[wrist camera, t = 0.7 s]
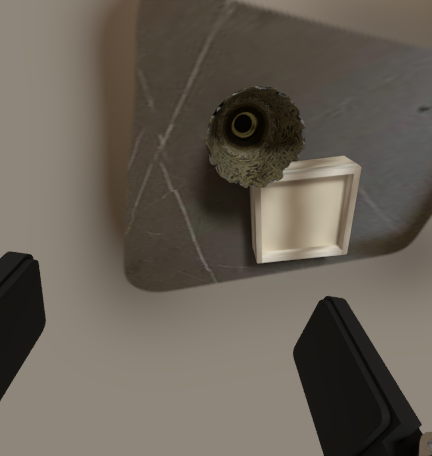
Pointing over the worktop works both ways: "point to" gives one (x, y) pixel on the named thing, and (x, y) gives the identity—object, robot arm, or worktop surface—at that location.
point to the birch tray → (305, 210)
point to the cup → (255, 137)
